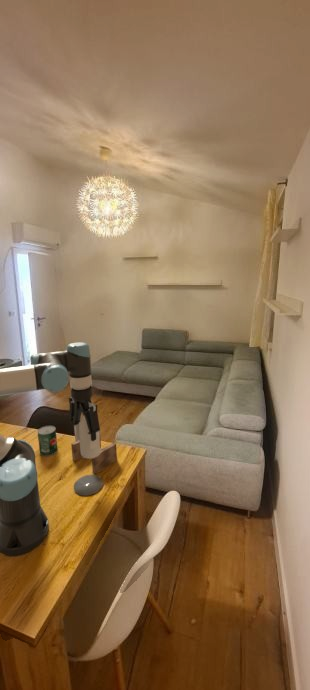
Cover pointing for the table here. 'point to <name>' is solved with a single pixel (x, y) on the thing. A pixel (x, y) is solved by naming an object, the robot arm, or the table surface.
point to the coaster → (88, 485)
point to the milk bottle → (84, 440)
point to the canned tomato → (47, 440)
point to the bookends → (99, 462)
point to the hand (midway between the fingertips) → (85, 443)
